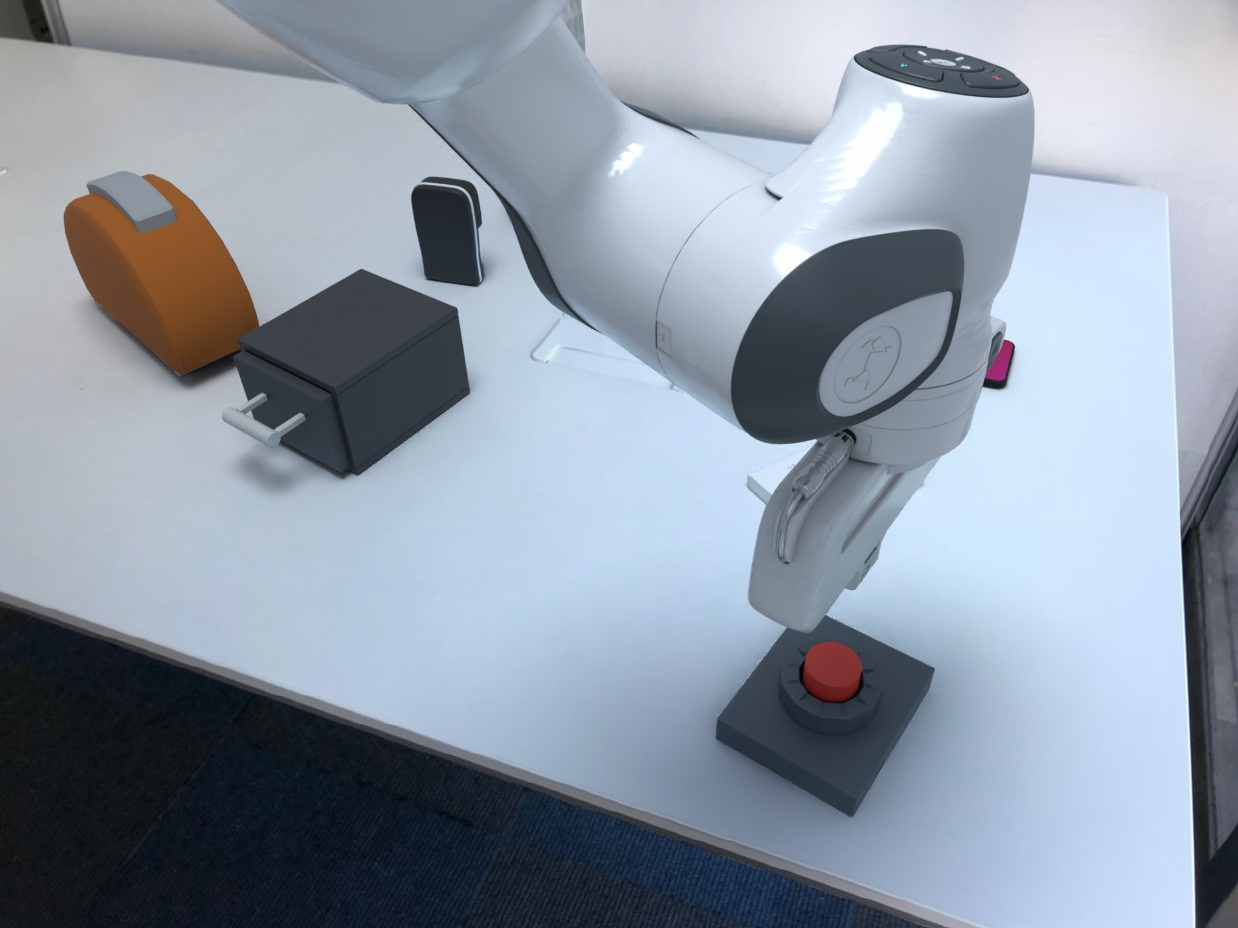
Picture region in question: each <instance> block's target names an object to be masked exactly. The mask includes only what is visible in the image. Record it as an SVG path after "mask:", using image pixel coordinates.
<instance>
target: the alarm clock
mask: <svg viewBox="0 0 1238 928" xmlns="http://www.w3.org/2000/svg"><path fill="white" fill-rule="evenodd" d="M85 185H86V188H87V191H88V194H85V195H82V196H80V197H76V198H74V199H73V200H71V201H70V202H69V203H68V204H67V205H66V206H65V209H64V212H63V227H64V234H65V238H66V242H67V245H68V248H69V252H70V254H71V256H72V260H73V261H74V264H75V266H76V268H77V271H78V274H79V276H80V277H81V279H82V282H83V284H84V286H85V288H86V290H87V291H88V293H89V295H90V296H91V297H92V299H93V300H94V301H95V302H96V303H97V304H98V305H99V306H101V308H103V309H104V310H105V312H107V313H108V314H109V316H111V317H112V318H113V319H115V320H116V321H117V322H118V323H119V324H121V325H122V326H123V327H124V328H125V329H126V330H128V331H129V333H130V334H132V335H133V336H134V337H136V338H137V340H139V341H140V342H141V343H142V344H143V345H144V346H145V347H146V348H148V349H149V350H150V351H151V352H153V354H155V356H156V357H158V358H159V359H160V360H161V361H163V362H164V363H165V364H166V365H167V366H168V367H169V368H170V369H171V370H173V371H174V373H175V374H176V375H177V376H179V377H183V376H185V375H188V374H189V373H191V372H194V371H196V370H198V369H200V368H203V367H205V366H207V365H209V364H211V363H213V362H216V361H217V360H220V359H222V358H224V357H226V356H229V355H231V354H233V353H235V352H238V351H241V350H240V346H239V343H238V340H237V339H239V338H241V337H242V336H244V335H246V334H248V333H249V332H251V331H253V330H255V329H256V328H258V327H260V322H259V318H258V314H257V311H256V308H255V305H254V301H253V298H252V295H251V292H250V290H249V289H248V288H249V287H248V286H247V284H246V281H245V280H244V278H243V276H242V273H241V271H240V269H239V267H238V265H237V263H236V262H235V260H234V258H233V257H232V254H231V253H230V251H229V249H228V248H227V246H226V244H225V242H224V241H223V239H222V238H221V236H220V235H219V234H218V232H217V231H216V229H215V228H214V226H213V225H212V223H211V222H210V220H209V219H208V218H207V217H206V216H205V214H204V213H203V212H202V210H201V209H200V208H199V206H198V205H197V203H195V201H194V200H192V199H191V198H190V197H189V196H188V195H187V194H185V192H183V191H182V190H181V189H180V188H178V187H177V186H176V185H175V184H173V182H171V181H169V180H168V179H165V178H162V177H160V176H158V175H156V174H153V173H147V174H145V175H142V176H140V175H138V174H136V173H134V172H131V171H128V170H120V171H116V172H114V173H111V174H108V175H105V176H102V177H98V178H96V179H94V180H90V181H87V183H86V184H85Z"/></svg>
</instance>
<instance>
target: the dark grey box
mask: <svg viewBox="0 0 1238 928" xmlns="http://www.w3.org/2000/svg"><path fill="white" fill-rule="evenodd" d="M237 340H238V343H239V346H240V350H239V351H240V352H242V351H243V350H244V351H246V352H248V353H250V354H252V355H254V356H256V357H258V358H260V359H262V360H264V361H266V360H267V361H269V362H271V363H273V364H275V365H277V366H279V367H281V368H283V369H285V370H287V371H289V372H292V373H294V374H296V375H298V376H300V377H302V378H304V379H306V380H308V381H310V382H312V383H314V384H316V385H318V386H320V387H322V388H324V389H326V390H328V391H330V392H331V394H332V396H333V400H334V404H335V408H336V411H337V415H338V419H339V423H340V427H341V430H342V434H343V438H344V442H345V445H346V449H347V453H348V457H349V460H350V464H351V466H349V467H348V468H347V469H346V470H347V471H349V472H351V473H352V474H354V475H356V476H359V475H360V474H362V473H364V471H366V470H367V469H368V468H370V467H371V466H373V465H374V464H376V463H377V462H378V461H380V460H381V459H383V458H384V457H385V456H386V455H388V454H389V453H390V452H392V451H393V450H394V449H396V448H397V447H399V446H400V445H401V444H403V443H404V442H406V441H407V440H408V439H409V438H410V437H412V436H413V435H415V434H416V433H417V432H419V431H421V430H422V429H423V428H425V427H426V426H427V425H429V424H430V423H431V422H433V421H434V420H435V419H437V418H438V417H439V416H441V415H442V414H443V413H445V412H446V411H448V410H449V409H450V408H451V407H453V406H454V405H456V404H457V403H458V402H460V401H461V400H462V399H464V398H465V397H467V396H468V395H469V394H470V393H471V389H470V388H471V387H470V382H469V375H468V369H467V362H466V356H465V348H464V342H463V335H462V329H461V322H460V316H459V309H458V307H457V306H454V305H452V304H450V303H447V302H445V301H442V300H439V299H437V298H434V297H432V296H430V295H427V294H424V293H422V292H420V291H418V290H415V289H412V288H410V287H407V286H405V285H403V284H400V283H398V282H396V281H393V280H391V279H388V278H386V277H384V276H382V275H378V274H376V273H373V272H371V271H368V270H367V269H364V268H360V269H358V270H356V271H354V272H353V273H351V274H349V275H348V276H345V277H344V278H342V279H340V280H339V281H337V282H335V283H333V284H332V285H330V286H328V287H326V288H325V289H323V290H321V291H320V292H317V293H316V294H313V295H312V296H310V297H309V298H307V299H305V300H304V301H302V302H300V303H298V304H297V305H295V306H293V307H291V308H290V309H288V310H287V311H284V312H282V313H281V314H279V315H277V316H276V317H274V318H271V320H269V321H267V322H265V323H263V324H261V325H259V327H258V328H256V329H255V330H253V331H251V332H249V333H248V334H246V335H244V336H242V337H241V338H239V339H237Z"/></svg>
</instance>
